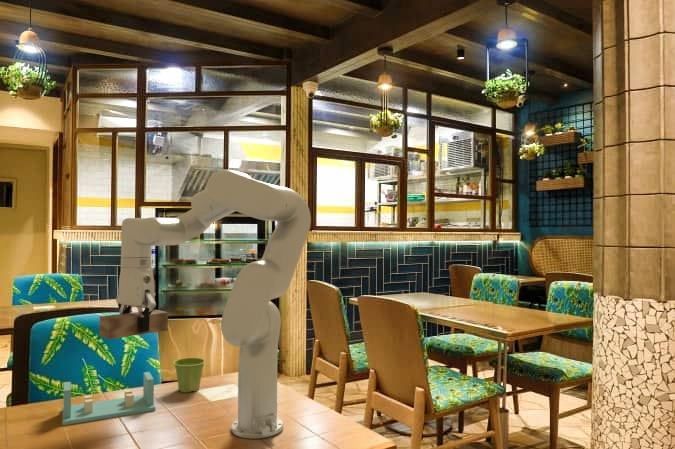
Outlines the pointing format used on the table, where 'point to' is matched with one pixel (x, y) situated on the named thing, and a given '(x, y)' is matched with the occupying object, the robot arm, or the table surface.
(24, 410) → the table surface
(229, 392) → the table surface
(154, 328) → the brown wooden block
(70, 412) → the peg stand
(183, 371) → the plant pot
